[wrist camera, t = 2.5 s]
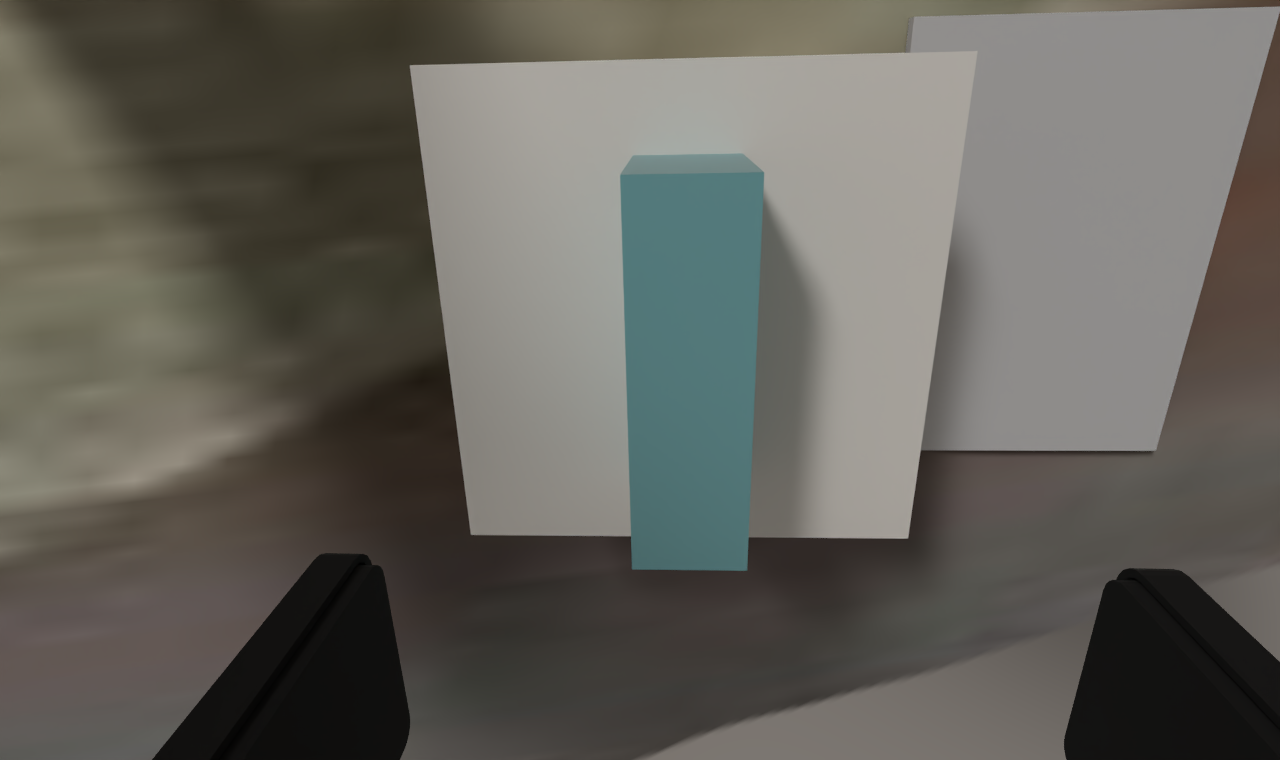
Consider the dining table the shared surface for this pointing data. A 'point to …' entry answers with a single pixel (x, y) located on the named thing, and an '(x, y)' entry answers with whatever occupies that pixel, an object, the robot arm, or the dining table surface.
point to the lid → (693, 291)
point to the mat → (1084, 218)
